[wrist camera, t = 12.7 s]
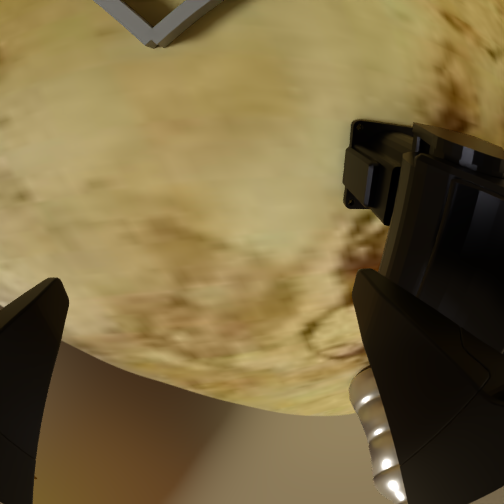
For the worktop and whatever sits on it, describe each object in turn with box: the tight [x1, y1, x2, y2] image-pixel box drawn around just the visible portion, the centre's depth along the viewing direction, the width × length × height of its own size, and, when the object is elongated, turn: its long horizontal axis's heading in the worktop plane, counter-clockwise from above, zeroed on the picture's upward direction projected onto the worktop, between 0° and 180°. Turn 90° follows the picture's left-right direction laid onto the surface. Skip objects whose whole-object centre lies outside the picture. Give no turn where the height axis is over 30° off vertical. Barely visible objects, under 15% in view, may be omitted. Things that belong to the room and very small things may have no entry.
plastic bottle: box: [349, 368, 408, 504], centre depth 25 cm, size 6×7×20 cm
